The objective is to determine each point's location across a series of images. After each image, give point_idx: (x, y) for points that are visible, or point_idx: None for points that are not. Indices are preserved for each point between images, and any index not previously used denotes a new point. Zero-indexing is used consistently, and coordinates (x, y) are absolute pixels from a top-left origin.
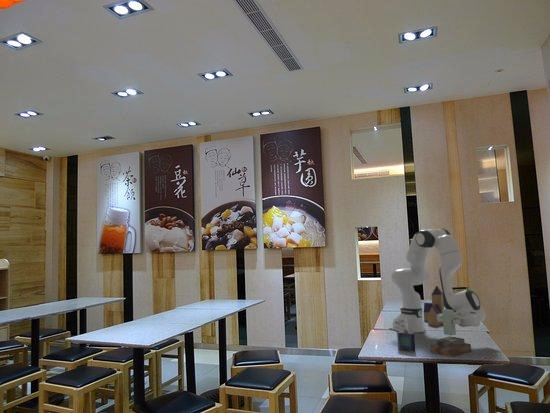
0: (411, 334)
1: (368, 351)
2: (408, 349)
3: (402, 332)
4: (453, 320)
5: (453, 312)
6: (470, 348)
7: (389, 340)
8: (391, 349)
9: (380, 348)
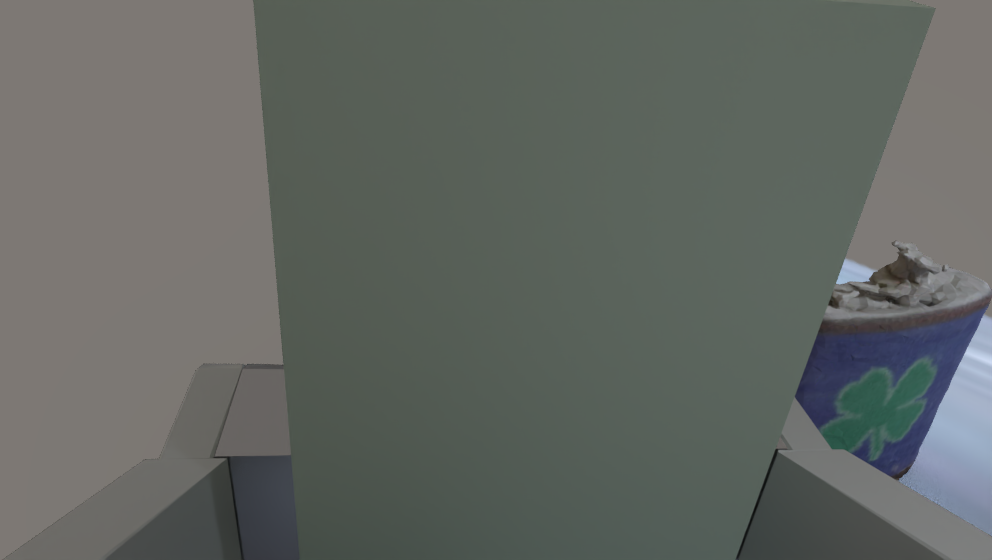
0: None
1: (864, 281)
2: None
3: (938, 294)
4: (236, 365)
5: (278, 133)
6: None
7: None
8: None
9: (962, 371)
